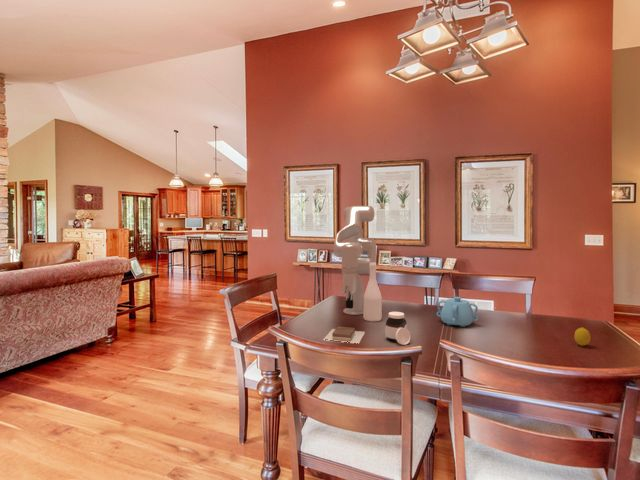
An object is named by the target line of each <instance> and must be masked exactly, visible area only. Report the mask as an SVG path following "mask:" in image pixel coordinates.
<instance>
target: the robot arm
mask: <svg viewBox="0 0 640 480" xmlns="http://www.w3.org/2000/svg"><path fill="white" fill-rule="evenodd" d="M343 219H344V227H342V228H341V229H340V230H339V231H338V232H337V234H335V236H334V244H333V254H334V256H335V257H337V258H341V274H342V282H341V283H342V285H341V294H342V295H343V296H344V295H345V308H344V309H343V311H342V312H343V313H344V314H346V315H355V316H356V315H357V316H358V315H363V304H364V280H363V279H362V277H361V276H360V275H362V274H363V275H364V274H368V275H370V267H369V264H370V263H372V262H373V263H376V264H377V243H376V240H375V239H374V238H372V237H364V229H363V227H362V222H363V223H364V222H369V223H370V222H373V220H374V219H375V209H374V206H371V205H352V206H346V207H345V208H344V209H343ZM345 240H347V241H345ZM362 255H363V256H362ZM365 255H366V256H365Z"/></svg>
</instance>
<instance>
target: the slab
mask: <svg viewBox="0 0 640 480" xmlns="http://www.w3.org/2000/svg"><path fill="white" fill-rule="evenodd" d="M334 329H335V331H334V332H333V333H332V340H340V341H351V340H352V338H353V336H354V335H355V331H356V328H355V327H349V326H348V327H346V326H337V327H336V328H334Z"/></svg>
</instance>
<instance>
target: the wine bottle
mask: <svg viewBox="0 0 640 480" xmlns="http://www.w3.org/2000/svg"><path fill="white" fill-rule="evenodd" d="M369 267H370V274H369V278H368V282H367V285H366V288H365V291H364V293H363V314H362V315H363V319H364V320H365V321H367V322H372V323H375V322H380V321H381V320H382V318H383V317H382V316H383V315H382V314H383V313H382V312H383V297H382V293H381V289H380V287H379V283H378V281H377V262H376V263H373V262H372V263H370V264H369Z"/></svg>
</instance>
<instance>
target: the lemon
mask: <svg viewBox="0 0 640 480" xmlns="http://www.w3.org/2000/svg"><path fill="white" fill-rule="evenodd" d="M590 333H591V332H590V331H589V330H588V329H587V328H585V327H583V326H582V327H579V328H577V329H575V331H574V335H573V336H574V337H573V338H574V342H576V343H577V344H578V345H580V347H584V346H586V345H588V344H589V343H590V341H591V334H590Z"/></svg>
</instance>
